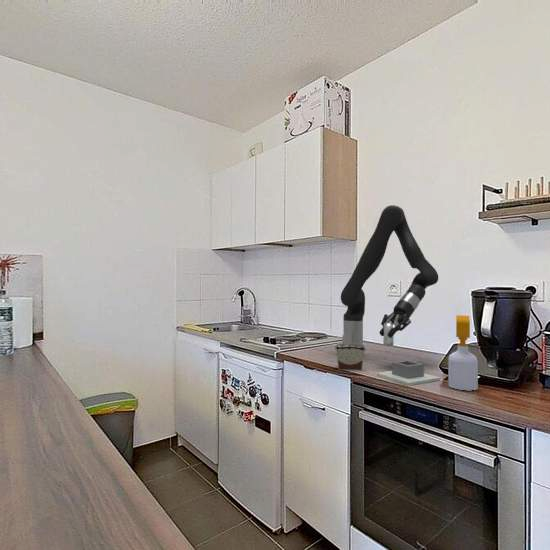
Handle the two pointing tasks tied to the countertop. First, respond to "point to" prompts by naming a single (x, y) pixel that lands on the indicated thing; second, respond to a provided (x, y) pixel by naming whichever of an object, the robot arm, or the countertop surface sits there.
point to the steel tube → (386, 339)
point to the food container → (350, 356)
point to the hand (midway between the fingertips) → (385, 335)
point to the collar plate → (408, 373)
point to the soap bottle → (463, 360)
